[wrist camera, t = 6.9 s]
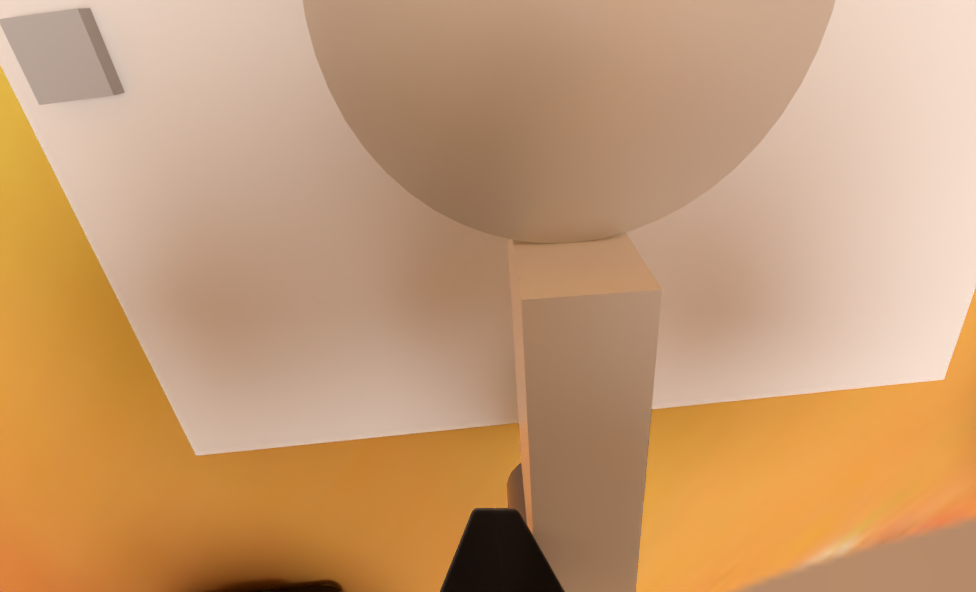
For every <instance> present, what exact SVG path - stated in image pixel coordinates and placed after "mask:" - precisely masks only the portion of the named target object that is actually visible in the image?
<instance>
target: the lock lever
mask: <svg viewBox="0 0 976 592" xmlns="http://www.w3.org/2000/svg"><path fill="white" fill-rule="evenodd" d="M834 4H835V0H303V6H304V13H305V19H306V22H307V26H308V30H309V34H310V37H311V41H312V45H313V49H314V52H315V56H316V58H317V61H318V63H319V66H320V68H321V71H322V74H323V76H324V79H325V81H326V84H327V86H328V89H329V91H330V93H331V95H332V96H333V98H334V100H335V102H336V104H337V106H338V108H339V110H340V111H341V113H342V115H343V117H344V119H345V121H346V122H347V124H348V125H349V127H350V128H351V129H352V131H353V132H354V134H355V135H356V137H357V138H358V140H359V141H360V142H361V144H362V145H363V147H364V148H365V149H366V150H367V152H368V153H369V154H370V155H371V156H372V157H373V158H374V159H375V161H376V162H377V163H378V164H379V165H380V166H381V167H382V169H383V170H384V171H385V172H386V173H387V174H388V175H389V176H391V177H392V178H393V179H394V180H395V181H396V182H397V183H398V184H400V185H401V186H402V187H403V188H404V189H405V190H406V191H407V192H409V193H410V194H411V195H413V196H414V197H416V198H417V199H419V200H420V201H422V202H423V203H424V204H426V205H427V206H429V207H430V208H432V209H433V210H435V211H437V212H439V213H441V214H442V215H444V216H446V217H448V218H450V219H452V220H454V221H456V222H458V223H460V224H462V225H465V226H468V227H470V228H473V229H476V230H478V231H481V232H484V233H487V234H490V235H495V236H499V237H503V238H507V239H508V254H509V271H510V287H511V304H512V320H513V336H514V353H515V369H516V386H517V402H518V419H519V435H520V451H521V463H520V464H519V465H518V466H517V467H516V468H515V469H514V470H513V472H512V473H511V475H510V477H509V479H508V483H507V496H508V508H514V509H517V510H518V511H519V512H520V513H521V515H522V517H523V519H524V520H525V522H526V524H527V526H528V527H529V529H530V531H531V533H532V535H533V536H534V538H535V540H536V542H537V543H538V545H539V547H540V549H541V550H542V552H543V554H544V556H545V557H546V559H547V561H548V563H549V565H550V566H551V568H552V570H553V572H554V573H555V575H556V577H557V579H558V580H559V582H560V584H561V586H562V587H563V589H564V591H565V592H636V581H637V570H638V559H639V547H640V536H641V524H642V513H643V501H644V490H645V479H646V467H647V456H648V444H649V433H650V422H651V410H652V399H653V387H654V376H655V364H656V353H657V342H658V330H659V319H660V307H661V296H662V289H661V287H660V286H659V284H658V282H657V281H656V279H655V278H654V276H653V274H652V273H651V271H650V270H649V268H648V267H647V265H646V263H645V262H644V260H643V259H642V257H641V255H640V254H639V252H638V251H637V249H636V247H635V246H634V244H633V243H632V241H631V240H630V238H629V236H628V235H627V233H626V232H629V231H632V230H634V229H637V228H640V227H642V226H645V225H647V224H650V223H653V222H655V221H657V220H659V219H661V218H663V217H665V216H667V215H669V214H671V213H673V212H675V211H677V210H679V209H681V208H683V207H684V206H686V205H687V204H689V203H690V202H692V201H693V200H695V199H696V198H698V197H699V196H701V195H702V194H704V193H705V192H707V191H708V190H710V189H711V188H712V187H714V186H715V185H716V184H717V183H718V182H719V181H721V180H722V179H723V178H724V177H725V176H727V175H728V174H729V173H730V172H731V171H733V170H734V169H735V168H736V167H737V166H738V165H739V164H740V163H741V162H742V161H743V160H744V159H745V158H746V157H747V156H748V155H749V154H750V153H751V152H752V151H753V150H754V149H755V148H756V147H757V146H758V144H759V143H760V142H761V141H762V140H763V138H764V137H765V136H766V135H767V133H768V132H769V131H770V129H771V128H772V127H773V126H774V124H775V123H776V122H777V121H778V119H779V118H780V117H781V115H782V114H783V112H784V111H785V109H786V108H787V106H788V104H789V103H790V101H791V100H792V98H793V97H794V95H795V93H796V92H797V90H798V89H799V87H800V85H801V84H802V82H803V80H804V78H805V76H806V74H807V72H808V70H809V68H810V66H811V64H812V62H813V60H814V58H815V56H816V54H817V52H818V49H819V47H820V44H821V41H822V39H823V36H824V33H825V31H826V28H827V25H828V23H829V20H830V17H831V15H832V12H833V8H834Z"/></svg>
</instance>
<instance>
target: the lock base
mask: <svg viewBox="0 0 976 592" xmlns="http://www.w3.org/2000/svg"><path fill="white" fill-rule="evenodd" d="M0 65H1V67H2V69H3V71H4V73H5V75H6V77H7V79H8V81H9V83H10V85H11V87H12V89H13V91H14V93H15V95H16V97H17V99H18V101H19V103H20V105H21V107H22V109H23V111H24V113H25V115H26V117H27V119H28V121H29V123H30V125H31V127H32V129H33V131H34V133H35V135H36V137H37V139H38V141H39V143H40V145H41V147H42V149H43V151H44V153H45V155H46V157H47V159H48V161H49V163H50V165H51V167H52V169H53V171H54V173H55V175H56V177H57V179H58V181H59V183H60V185H61V187H62V189H63V191H64V193H65V195H66V197H67V199H68V201H69V203H70V205H71V207H72V209H73V211H74V213H75V215H76V217H77V219H78V221H79V223H80V225H81V227H82V229H83V231H84V233H85V235H86V237H87V239H88V241H89V243H90V245H91V247H92V249H93V251H94V253H95V255H96V257H97V259H98V261H99V263H100V265H101V267H102V269H103V271H104V273H105V275H106V277H107V279H108V281H109V283H110V285H111V287H112V289H113V291H114V293H115V295H116V297H117V299H118V301H119V303H120V305H121V307H122V309H123V311H124V313H125V315H126V317H127V319H128V321H129V323H130V325H131V327H132V329H133V331H134V333H135V335H136V337H137V339H138V341H139V343H140V345H141V347H142V349H143V351H144V353H145V355H146V357H147V359H148V361H149V363H150V365H151V367H152V369H153V371H154V373H155V375H156V377H157V379H158V381H159V383H160V385H161V387H162V389H163V391H164V393H165V395H166V397H167V399H168V401H169V403H170V405H171V407H172V409H173V411H174V413H175V415H176V417H177V419H178V421H179V423H180V425H181V427H182V428H183V430H184V432H185V434H186V436H187V438H188V440H189V442H190V444H191V446H192V448H193V450H194V452H195V454H196V456H198V455H208V454H218V453H228V452H238V451H247V450H257V449H267V448H277V447H287V446H297V445H306V444H316V443H326V442H336V441H346V440H355V439H365V438H375V437H385V436H395V435H404V434H414V433H424V432H434V431H444V430H453V429H463V428H473V427H483V426H493V425H503V424H512V423H519V419H518V402H517V386H516V369H515V353H514V336H513V320H512V304H511V287H510V271H509V254H508V239H507V238H503V237H499V236H495V235H490V234H487V233H484V232H481V231H478V230H476V229H473V228H470V227H468V226H465V225H462V224H460V223H458V222H456V221H454V220H452V219H450V218H448V217H446V216H444V215H442V214H441V213H439V212H437V211H435V210H433V209H432V208H430V207H429V206H427V205H426V204H424V203H423V202H422V201H420V200H419V199H417V198H416V197H414V196H413V195H411V194H410V193H409V192H407V191H406V190H405V189H404V188H403V187H402V186H401V185H400V184H398V183H397V182H396V181H395V180H394V179H393V178H392V177H391V176H389V175H388V174H387V173H386V172H385V171H384V170H383V169H382V167H381V166H380V165H379V164H378V163H377V162H376V161H375V159H374V158H373V157H372V156H371V155H370V154H369V153H368V152H367V150H366V149H365V148H364V147H363V145H362V144H361V142H360V141H359V140H358V138H357V137H356V135H355V134H354V132H353V131H352V129H351V128H350V127H349V125H348V124H347V122H346V121H345V119H344V117H343V115H342V113H341V111H340V110H339V108H338V106H337V104H336V102H335V100H334V98H333V96H332V95H331V93H330V91H329V89H328V86H327V84H326V81H325V79H324V76H323V74H322V71H321V68H320V66H319V63H318V61H317V58H316V56H315V52H314V49H313V45H312V41H311V37H310V34H309V30H308V26H307V22H306V19H305V13H304V6H303V0H0ZM626 233H627V235H628V236H629V238H630V240H631V241H632V243H633V244H634V246H635V247H636V249H637V251H638V252H639V254H640V255H641V257H642V259H643V260H644V262H645V263H646V265H647V267H648V268H649V270H650V271H651V273H652V274H653V276H654V278H655V279H656V281H657V282H658V284H659V286H660V287H661V289H662V296H661V307H660V319H659V330H658V342H657V353H656V364H655V376H654V387H653V399H652V409H659V408H669V407H679V406H689V405H699V404H709V403H718V402H728V401H738V400H748V399H758V398H767V397H777V396H787V395H797V394H807V393H816V392H826V391H836V390H846V389H856V388H865V387H875V386H885V385H895V384H905V383H914V382H924V381H934V380H944V377H945V375H946V372H947V369H948V366H949V363H950V360H951V357H952V354H953V351H954V349H955V346H956V343H957V340H958V337H959V334H960V331H961V328H962V325H963V322H964V320H965V317H966V314H967V311H968V308H969V305H970V302H971V299H972V296H973V294H974V291H975V288H976V0H835V4H834V8H833V12H832V15H831V17H830V20H829V23H828V25H827V28H826V31H825V33H824V36H823V39H822V41H821V44H820V47H819V49H818V52H817V54H816V56H815V58H814V60H813V62H812V64H811V66H810V68H809V70H808V72H807V74H806V76H805V78H804V80H803V82H802V84H801V85H800V87H799V89H798V90H797V92H796V93H795V95H794V97H793V98H792V100H791V101H790V103H789V104H788V106H787V108H786V109H785V111H784V112H783V114H782V115H781V117H780V118H779V119H778V121H777V122H776V123H775V124H774V126H773V127H772V128H771V129H770V131H769V132H768V133H767V135H766V136H765V137H764V138H763V140H762V141H761V142H760V143H759V144H758V146H757V147H756V148H755V149H754V150H753V151H752V152H751V153H750V154H749V155H748V156H747V157H746V158H745V159H744V160H743V161H742V162H741V163H740V164H739V165H738V166H737V167H736V168H735V169H734V170H733V171H731V172H730V173H729V174H728V175H727V176H725V177H724V178H723V179H722V180H721V181H719V182H718V183H717V184H716V185H715V186H714V187H712V188H711V189H710V190H708V191H707V192H705V193H704V194H702V195H701V196H699V197H698V198H696V199H695V200H693V201H692V202H690V203H689V204H687V205H686V206H684V207H683V208H681V209H679V210H677V211H675V212H673V213H671V214H669V215H667V216H665V217H663V218H661V219H659V220H657V221H655V222H653V223H650V224H647V225H645V226H642V227H640V228H637V229H634V230H632V231H629V232H626Z"/></svg>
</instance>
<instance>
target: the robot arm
mask: <svg viewBox="0 0 976 592" xmlns="http://www.w3.org/2000/svg"><path fill="white" fill-rule="evenodd" d="M259 592H341V591H340V590H339V589H338V588H336V587H334V586H328V585H324V586H313V587H302V588H292V589H281V590H270V591H259ZM440 592H565V591H564V589H563V587H562V586H561V584H560V582H559V580H558V579H557V577H556V575H555V573H554V572H553V570H552V568H551V566H550V565H549V563H548V561H547V559H546V557H545V556H544V554H543V552H542V550H541V549H540V547H539V545H538V543H537V542H536V540H535V538H534V536H533V535H532V533H531V531H530V529H529V527H528V526H527V524H526V522H525V520H524V519H523V517H522V515H521V513H520V512H519V511H518V510H517V509H514V508H496V509H495V508H476V509H474V510H473V511H472V513H471V515H470V518H469V520H468V523H467V525H466V528H465V530H464V533H463V535H462V538H461V540H460V543H459V545H458V548H457V550H456V553H455V555H454V558H453V560H452V563H451V565H450V568H449V570H448V573H447V575H446V578H445V580H444V583H443V585H442V588H441V590H440Z"/></svg>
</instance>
